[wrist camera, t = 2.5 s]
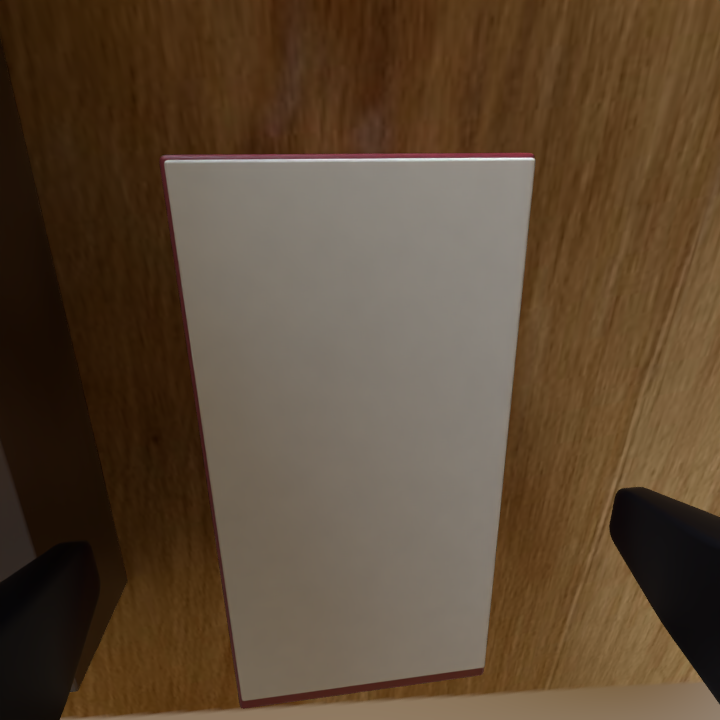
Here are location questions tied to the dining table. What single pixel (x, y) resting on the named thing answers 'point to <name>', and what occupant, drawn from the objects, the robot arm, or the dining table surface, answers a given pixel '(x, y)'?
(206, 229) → the red white box
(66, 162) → the dining table surface
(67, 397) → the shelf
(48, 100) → the dining table surface
